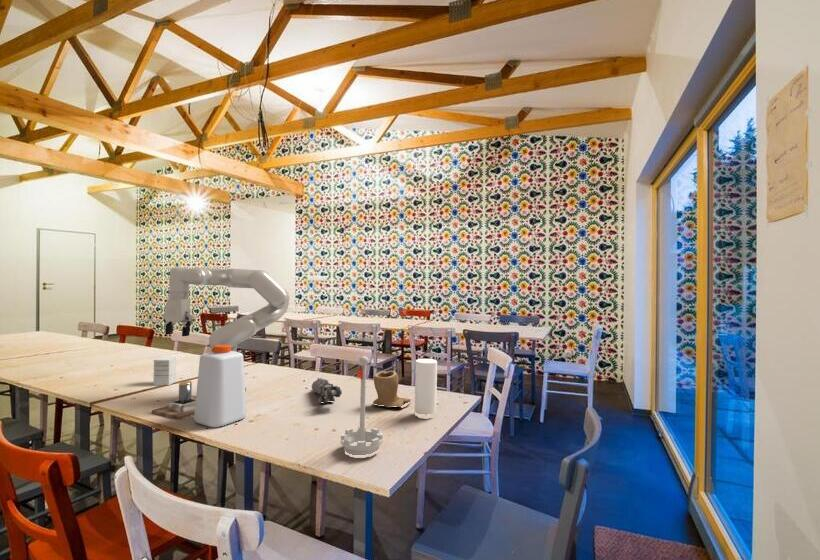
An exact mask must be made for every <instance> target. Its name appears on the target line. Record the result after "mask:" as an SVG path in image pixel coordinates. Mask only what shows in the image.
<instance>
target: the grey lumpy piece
mask: <svg viewBox="0 0 820 560" xmlns="http://www.w3.org/2000/svg"><path fill="white" fill-rule="evenodd" d="M311 390H312V391H313V392H314V391H315V392H314V393H316V394H318V395H319V398H318V403H319V402H325V403H327V402H326V401H334V402H336V398H340V397H341V395H342V394H343V390H342V389H341V387H340V386H338V385H334V384H333V383H330V381H329V380H328V379H326V378H322V377H317V378H316V380H315V381H313V383H312V384H311Z"/></svg>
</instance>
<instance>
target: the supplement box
mask: <svg viewBox="0 0 820 560" xmlns="http://www.w3.org/2000/svg"><path fill="white" fill-rule="evenodd" d="M176 368H177V357H176V356H161V357H158V358H156V359H154V360H153V385H152V386H157V387H159V386H158V385H163V386H164V385H166V386H167V385H168V386H170V385H172V384H174V383H176V381H177V380H176V375H177V373H176V372H177V369H176Z"/></svg>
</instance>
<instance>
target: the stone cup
mask: <svg viewBox="0 0 820 560" xmlns="http://www.w3.org/2000/svg"><path fill="white" fill-rule="evenodd" d="M373 384H374V385H373V386H374V388H375V391H376V394H377V398H376V399H374V401H372V404H373V405H374V404H377V405H384V406H397V407H401V406H402V405H404V404H405V403H408V402H410V401H411V398H405V397H399V396H398V388H399V375H398V373H397V372H396V371H394V370H388V371H385V370H383V371H379V372H376V373H375V374H374V376H373ZM410 403H411V402H410Z"/></svg>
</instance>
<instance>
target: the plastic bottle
mask: <svg viewBox="0 0 820 560" xmlns="http://www.w3.org/2000/svg"><path fill="white" fill-rule="evenodd" d="M212 349H213V350H212V351H210V352H206V353H205V352H204V353H202V354H201V355H200V356H199V365H198V375H197V382H196V383H197V385H196V394H195V395H196V396H195V398H196V403H195V413H194V415H193V420H194V422H195V423H197V424H199V425H202V426H205V427H208V428H221V427H220V426H222V427H225V426H228V425H230V423H231V424H234V423H236V422H235V421H237V422H238V420H240V421H242V420H244V419H245V418H246V416H247V405H246V403H247V402H246V400H247V399H246V391H245V387H246V383H245V366H244V364H245V363H244V361H245V360H244V354H243V353H242V352H239V351H237V352H235V351H231V346H230V345H226V344H223V345H215V346H214V347H213V348H212ZM243 418H244V419H243ZM241 419H242V420H241ZM233 422H234V423H233ZM227 424H228V425H227ZM224 425H225V426H224Z"/></svg>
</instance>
